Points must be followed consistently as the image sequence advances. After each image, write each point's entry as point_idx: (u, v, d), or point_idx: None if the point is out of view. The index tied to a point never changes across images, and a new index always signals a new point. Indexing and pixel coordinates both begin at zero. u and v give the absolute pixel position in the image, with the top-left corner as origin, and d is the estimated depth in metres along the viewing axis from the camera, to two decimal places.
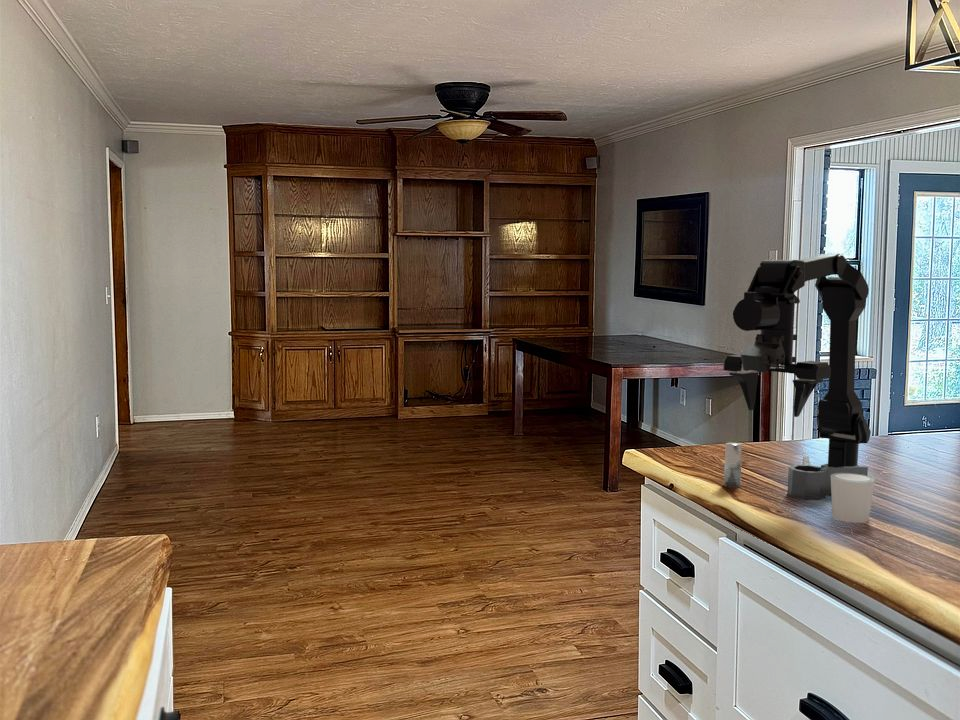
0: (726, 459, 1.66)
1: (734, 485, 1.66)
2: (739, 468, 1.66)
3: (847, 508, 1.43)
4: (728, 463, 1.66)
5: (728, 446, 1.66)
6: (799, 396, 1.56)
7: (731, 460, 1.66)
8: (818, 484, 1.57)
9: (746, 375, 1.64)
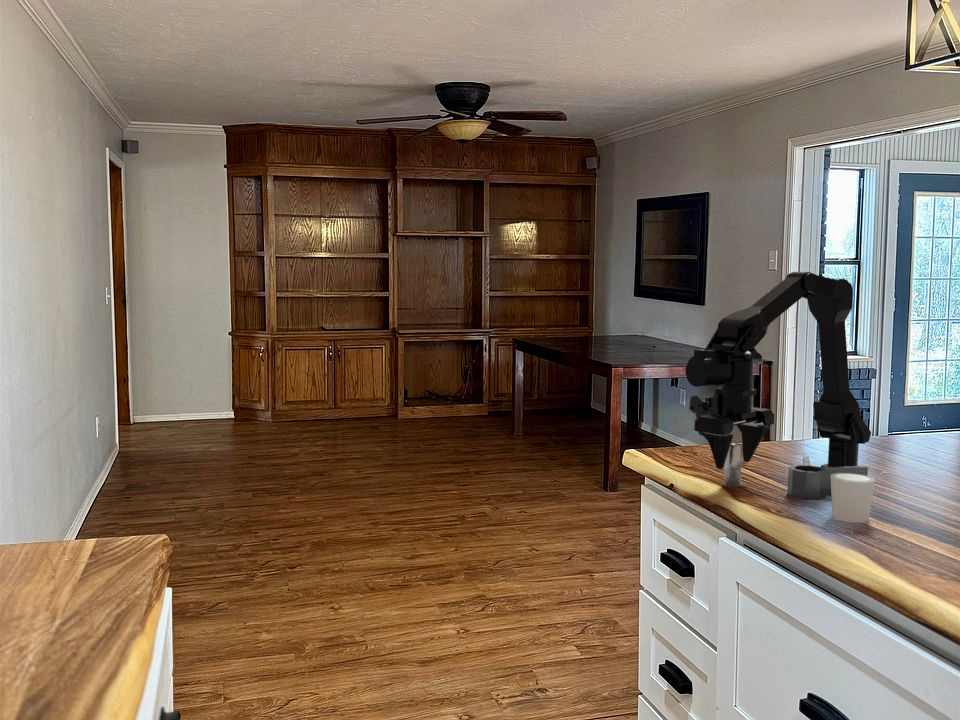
0: (726, 459, 1.66)
1: (734, 485, 1.66)
2: (739, 468, 1.66)
3: (847, 508, 1.43)
4: (728, 463, 1.66)
5: None
6: (711, 447, 1.64)
7: (730, 460, 1.66)
8: (818, 484, 1.57)
9: (743, 426, 1.71)
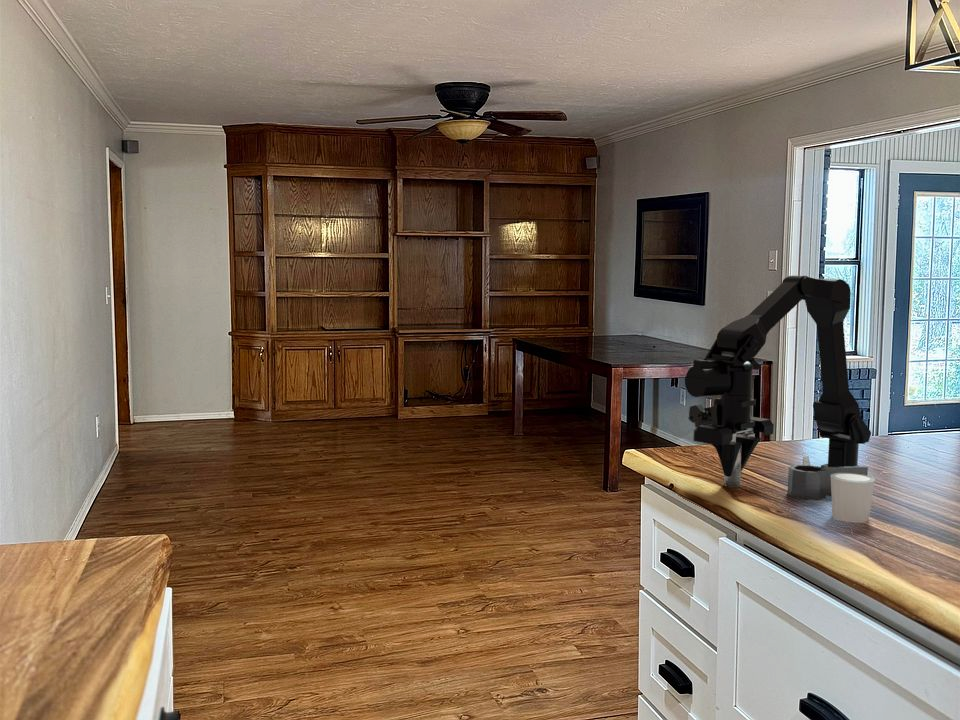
0: None
1: (734, 485, 1.66)
2: (739, 468, 1.66)
3: (847, 508, 1.43)
4: None
5: None
6: (719, 455, 1.66)
7: None
8: (818, 484, 1.57)
9: None
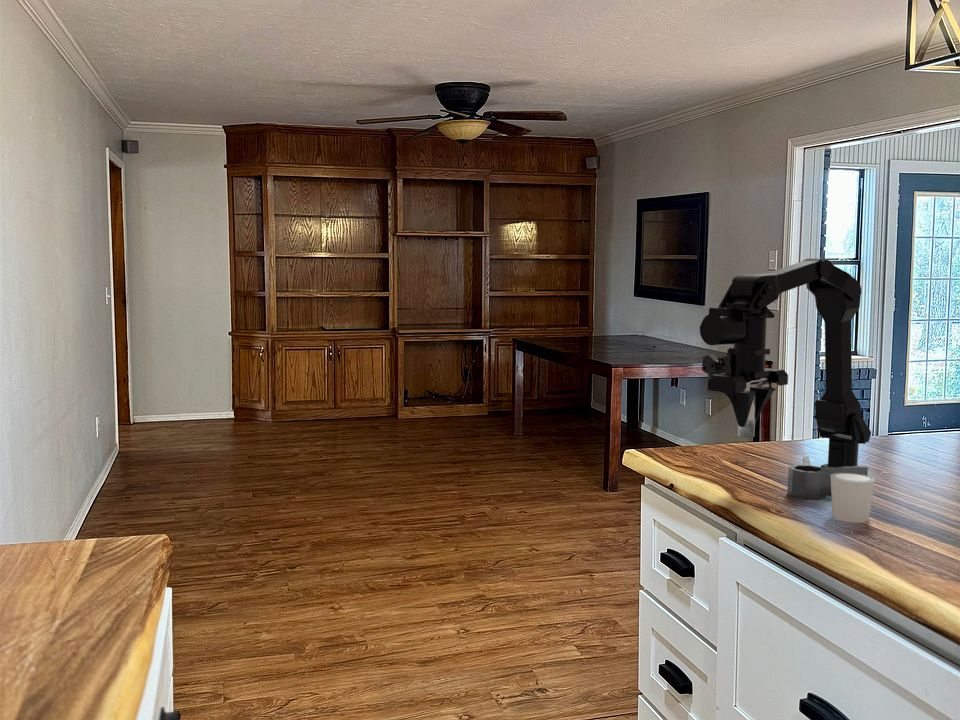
0: None
1: (748, 435, 1.64)
2: (753, 418, 1.64)
3: (847, 508, 1.43)
4: None
5: None
6: (733, 405, 1.64)
7: None
8: (818, 484, 1.57)
9: None
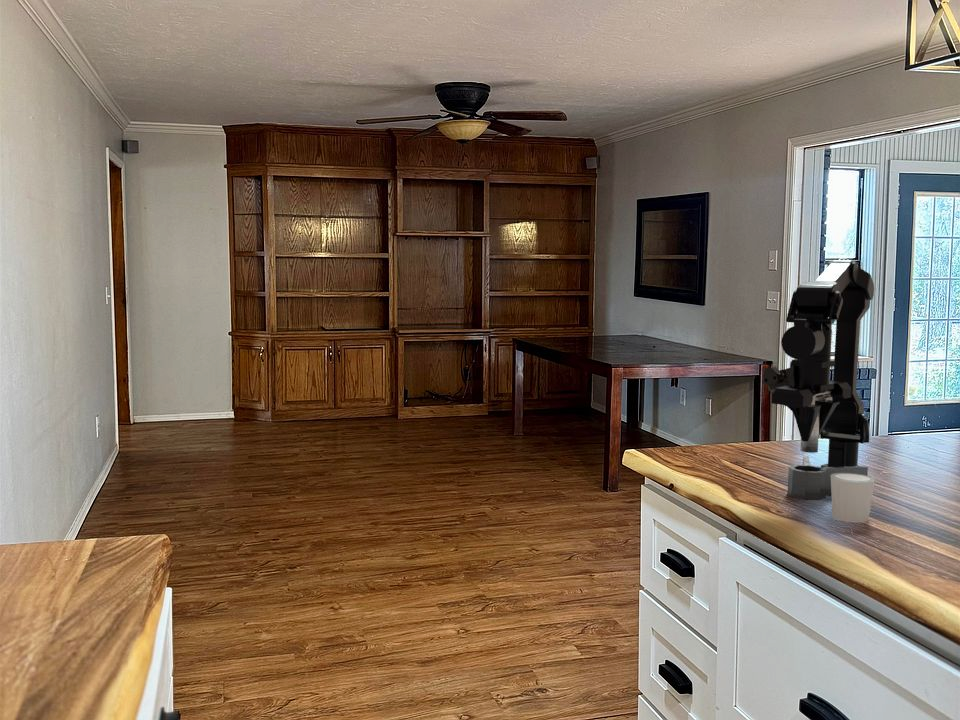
0: None
1: (812, 450, 1.58)
2: (817, 432, 1.58)
3: (847, 508, 1.43)
4: None
5: None
6: (796, 419, 1.58)
7: None
8: (818, 484, 1.57)
9: None
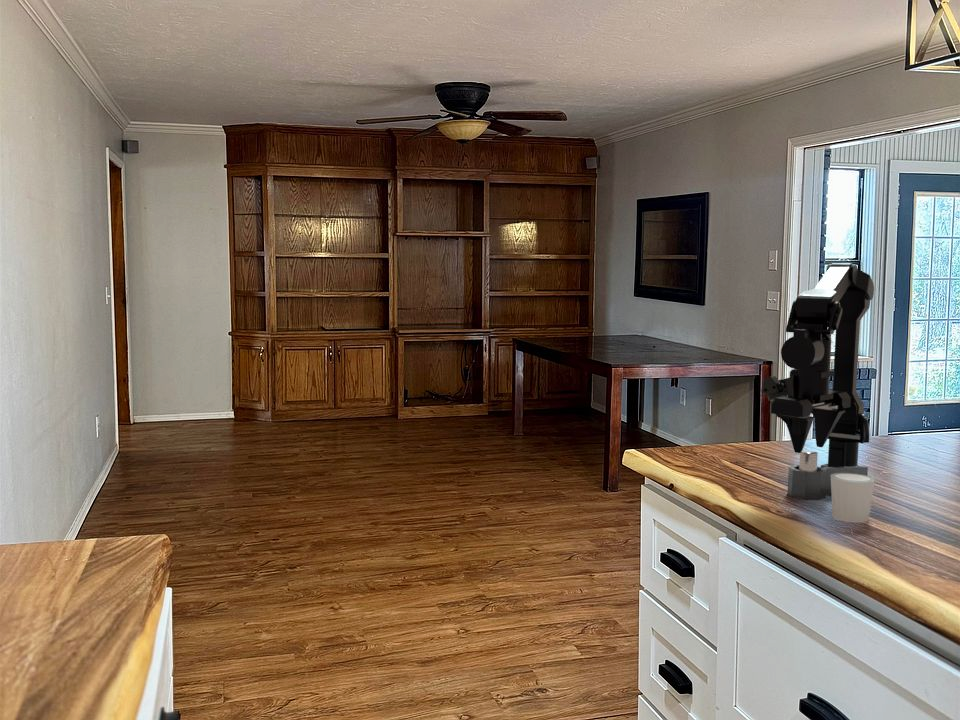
0: (801, 468, 1.59)
1: None
2: None
3: (847, 508, 1.43)
4: None
5: (803, 455, 1.59)
6: (789, 430, 1.57)
7: (806, 469, 1.59)
8: (818, 484, 1.57)
9: (816, 410, 1.63)
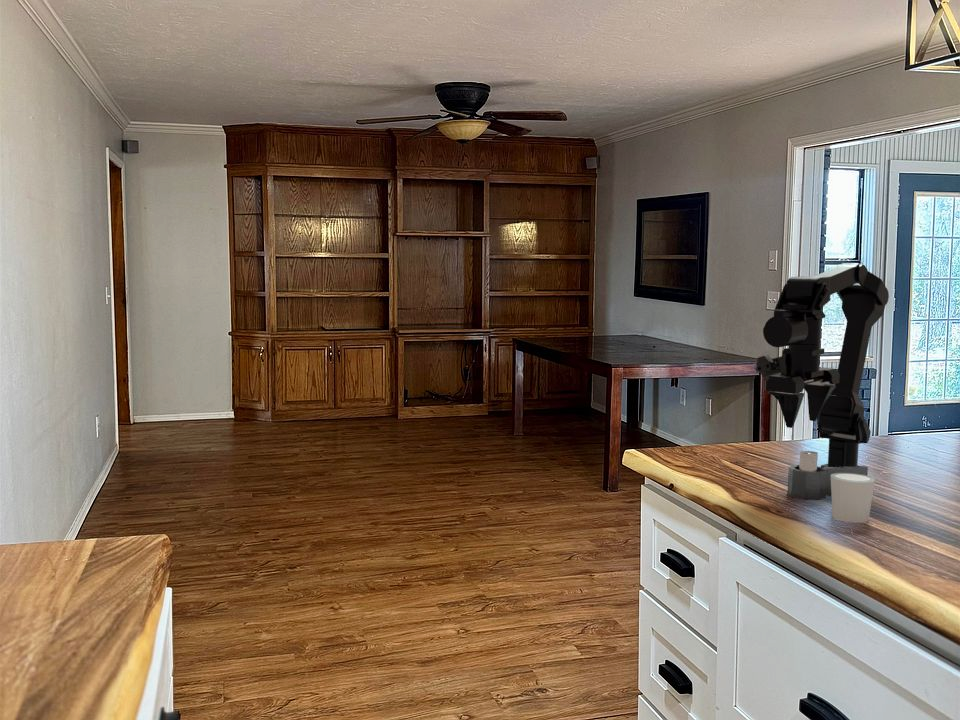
0: (801, 468, 1.59)
1: None
2: None
3: (847, 508, 1.43)
4: None
5: (803, 455, 1.59)
6: (781, 406, 1.65)
7: (806, 469, 1.59)
8: (818, 484, 1.57)
9: (809, 386, 1.72)
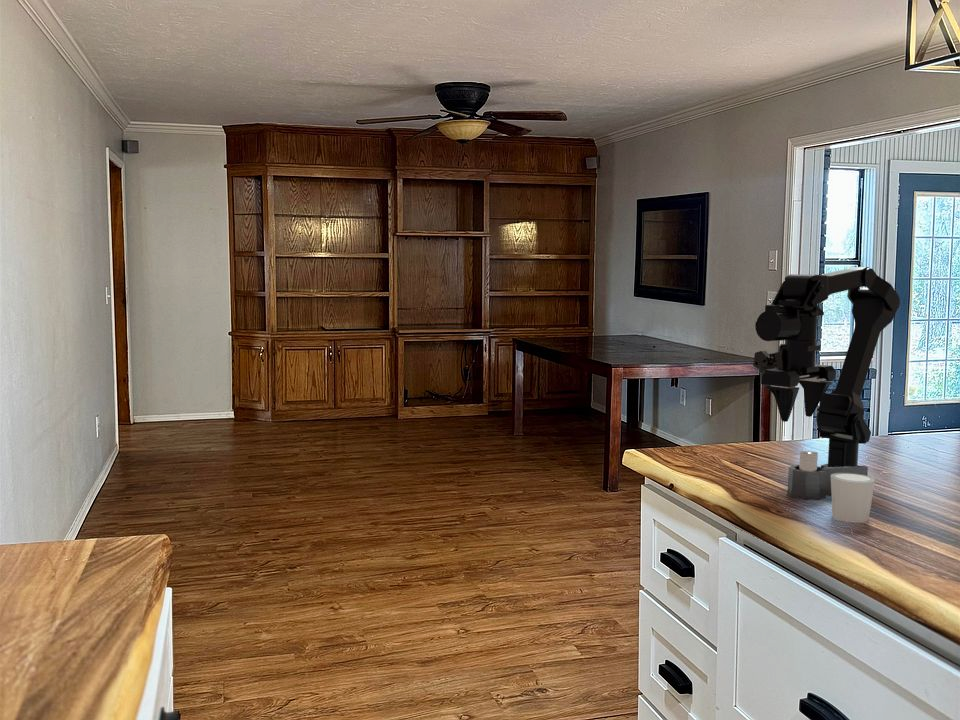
0: (801, 468, 1.59)
1: None
2: None
3: (847, 508, 1.43)
4: None
5: (803, 455, 1.59)
6: None
7: (806, 469, 1.59)
8: (818, 484, 1.57)
9: (805, 382, 1.75)
